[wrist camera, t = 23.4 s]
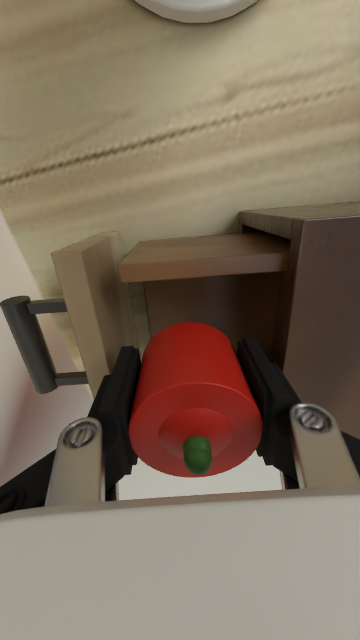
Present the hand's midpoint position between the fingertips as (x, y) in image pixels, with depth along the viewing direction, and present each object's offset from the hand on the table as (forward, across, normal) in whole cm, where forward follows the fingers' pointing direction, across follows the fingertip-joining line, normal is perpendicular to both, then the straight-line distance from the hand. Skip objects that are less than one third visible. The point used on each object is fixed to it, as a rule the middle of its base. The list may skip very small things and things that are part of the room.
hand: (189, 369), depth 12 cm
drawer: (+8, +1, 0) cm, 8 cm away
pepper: (+1, 0, 0) cm, 1 cm away
